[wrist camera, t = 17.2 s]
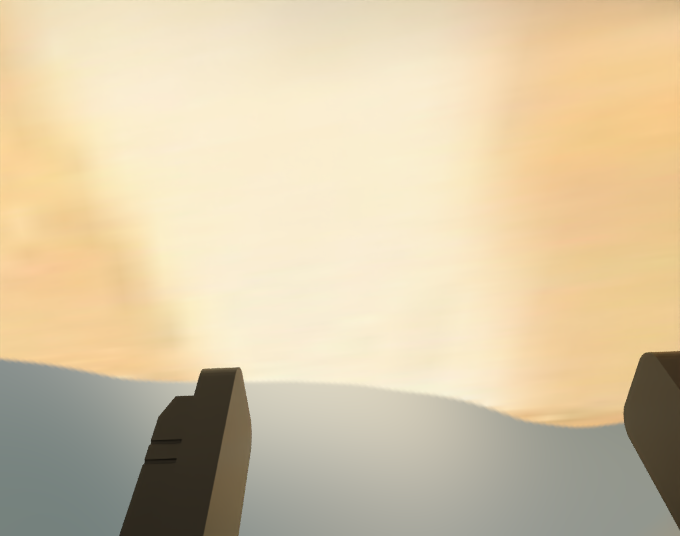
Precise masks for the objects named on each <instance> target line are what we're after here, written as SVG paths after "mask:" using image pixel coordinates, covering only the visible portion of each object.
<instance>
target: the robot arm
mask: <svg viewBox="0 0 680 536" xmlns="http://www.w3.org/2000/svg"><path fill="white" fill-rule="evenodd" d="M624 423H625V428H626V431H627V434H628V436H629V438H630V440H631V442H632V444H633V446H634V448H635V449H636V451H637V453H638V454H639V457H640V459H641V460H642V462H643V464H644V466H645V468H646V469H647V471H648V473H649V475H650V477H651V479H652V480H653V482H654V484H655V485H656V488H657V489H658V491H659V493H660V495H661V497H662V499H663V500H664V502H665V503H666V506H667V508H668V509H669V511H670V513H671V515H672V517H673V518H674V520H675V522H676V524H677V526H678V528H679V529H680V351H672V352H648V353H644V354H643V355H642V356H641V358H640V360H639V363H638V366H637V369H636V372H635V375H634V378H633V381H632V384H631V387H630V390H629V393H628V396H627V399H626V402H625V406H624ZM251 432H252V431H251V419H250V414H249V408H248V402H247V397H246V391H245V386H244V380H243V375H242V371H241V369H240V368H239V367H237V368H212V369H202V371H201V373H200V376H199V379H198V383H197V386H196V390H195V394H194V396H176V397H175V398H174V399H173V400H172V402H171V403H170V404H169V405H168V406H167V407H166V409H165V410H164V411H163V412H162V413H161V415H160V416H159V417H158V420H157V424H156V426H155V429H154V433H153V436H152V439H151V445H149V447H148V450H147V454H146V457H145V463H144V464H143V466H142V469H141V472H140V475H139V478H138V481H137V484H136V487H135V490H134V493H133V496H132V499H131V502H130V505H129V508H128V511H127V514H126V517H125V520H124V523H123V526H122V529H121V532H120V535H119V536H238V535H239V527H240V521H241V514H242V507H243V500H244V493H245V486H246V480H247V473H248V466H249V459H250V452H251V438H252V437H251V435H252V433H251Z"/></svg>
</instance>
